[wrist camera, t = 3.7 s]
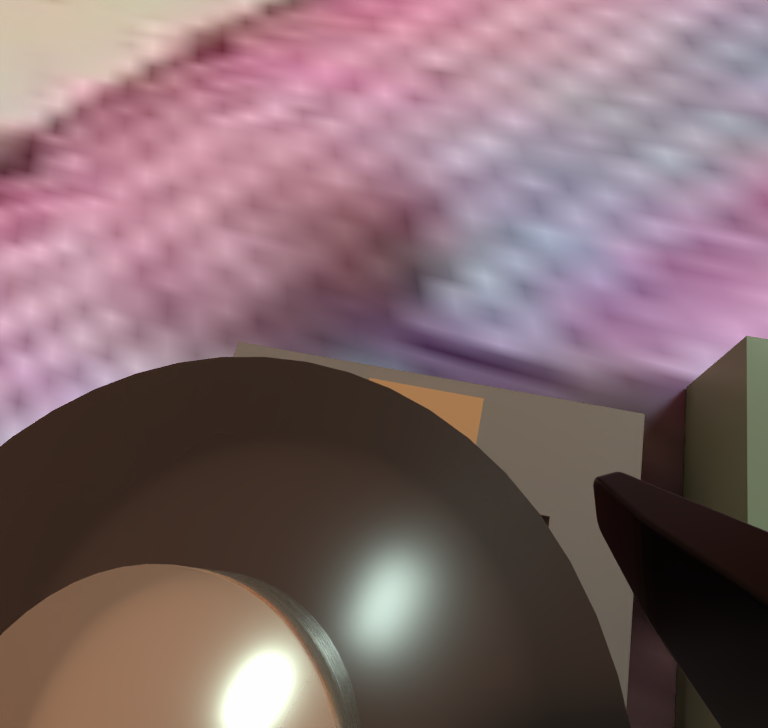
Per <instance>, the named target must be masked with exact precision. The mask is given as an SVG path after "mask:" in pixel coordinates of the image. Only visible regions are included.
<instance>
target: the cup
mask: <svg viewBox="0 0 768 728" xmlns="http://www.w3.org/2000/svg"><path fill="white" fill-rule="evenodd" d="M683 497H684V498H687V499H689V500H692V501H694V502H696V503H699V504H701V505H704V506H706V507H709V508H711V509H714V510H716V511H719V512H721V513H723V514H726V515H728V516H731V517H733V518H736V519H738V520H741V521H743V522H746V523H748V524H751V525H753V526H755V527H758V528H760V529H763V530H765V531H768V339H763V338H756V337H750V336H746V337H745V338H744V339H743V340H741V341H740V342H739V343H738V344H737V345H736V346H734V347H733V348H732V349H731V350H730V351H729V352H727V353H726V354H725V355H724V356H723V357H721V358H720V359H719V360H718V361H717V362H716V363H714V364H713V365H712V366H711V367H710V368H709V369H707V370H706V371H705V372H704V373H703V374H701V375H700V376H699V377H698V378H697V379H696V380H694V381H693V382H692V383H691V384H690V385H689V386H687V389H686V418H685V446H684V475H683ZM675 728H721V727H720V725H719V724H718V723H717V721H716V720H715V718H714V717H713V715H712V714H711V712H710V711H709V709H708V708H707V706H706V705H705V703H704V702H703V701H702V699H701V698H700V696H699V695H698V693H697V692H696V690H695V689H694V687H693V686H692V684H691V683H690V681H689V680H688V679H687V677H686V676H685V674H684V673H683V671H682V670H681V668H680V667H679V665H678V664H677V674H676V703H675Z"/></svg>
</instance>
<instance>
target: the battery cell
mask: <svg viewBox="0 0 768 728" xmlns="http://www.w3.org/2000/svg"><path fill="white" fill-rule="evenodd" d="M0 728H630V724H629V720H628V715H627V711H626V707H625V702H624V698H623V694H622V690H621V685H620V681H619V677H618V674H617V671H616V668H615V665H614V662H613V660H612V657H611V654H610V651H609V648H608V646H607V643H606V640H605V637H604V634H603V632H602V629H601V626H600V623H599V620H598V617H597V615H596V613H595V611H594V609H593V607H592V605H591V603H590V601H589V599H588V596H587V594H586V592H585V590H584V588H583V586H582V584H581V582H580V580H579V578H578V576H577V574H576V572H575V570H574V568H573V566H572V564H571V562H570V560H569V559H568V557H567V555H566V554H565V552H564V551H563V549H562V548H561V546H560V545H559V543H558V541H557V540H556V538H555V537H554V535H553V534H552V532H551V531H550V529H549V528H548V526H547V524H546V523H545V521H544V520H543V518H542V517H541V515H540V514H539V512H538V511H537V510H536V509H535V508H534V506H533V505H532V504H531V503H530V502H529V500H528V499H527V498H526V497H525V496H524V494H523V493H522V492H521V491H520V489H519V488H518V487H517V486H516V485H515V483H514V482H513V481H512V480H511V479H510V477H509V476H508V475H507V474H506V473H505V472H504V471H503V470H502V469H501V468H500V467H499V466H498V465H497V464H496V463H495V462H494V461H493V460H492V459H490V458H489V457H488V456H487V455H486V454H485V453H484V452H483V451H482V450H481V449H480V448H479V447H478V446H477V445H476V444H474V443H473V442H472V441H471V440H470V439H469V438H468V437H466V436H465V435H464V434H462V433H461V432H460V431H458V430H457V429H455V428H454V427H453V426H451V425H450V424H449V423H447V422H446V421H444V420H443V419H442V418H440V417H439V416H438V415H436V414H435V413H433V412H432V411H431V410H429V409H427V408H425V407H424V406H422V405H420V404H418V403H416V402H414V401H413V400H411V399H409V398H407V397H405V396H403V395H402V394H400V393H398V392H396V391H394V390H392V389H391V388H388V387H386V386H383V385H381V384H378V383H375V382H373V381H370V380H368V379H365V378H363V377H360V376H357V375H355V374H352V373H350V372H346V371H342V370H338V369H334V368H330V367H326V366H322V365H318V364H314V363H310V362H305V361H296V360H287V359H279V358H270V357H220V358H212V359H205V360H197V361H189V362H182V363H176V364H172V365H169V366H165V367H161V368H157V369H153V370H149V371H145V372H141V373H137V374H134V375H132V376H129V377H126V378H124V379H121V380H118V381H116V382H113V383H110V384H108V385H105V386H103V387H100V388H97V389H95V390H93V391H91V392H89V393H87V394H85V395H83V396H81V397H79V398H77V399H75V400H73V401H71V402H69V403H67V404H65V405H63V406H61V407H59V408H57V409H55V410H53V411H52V412H50V413H49V414H47V415H46V416H44V417H42V418H41V419H39V420H38V421H36V422H35V423H33V424H32V425H30V426H29V427H27V428H25V429H24V430H22V431H21V432H19V433H18V434H16V435H15V436H13V437H12V438H11V439H9V440H8V441H7V442H6V443H4V444H3V445H2V446H1V447H0Z"/></svg>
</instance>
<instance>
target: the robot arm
mask: <svg viewBox="0 0 768 728" xmlns="http://www.w3.org/2000/svg"><path fill="white" fill-rule="evenodd" d="M593 490H594V499H595V508H596V517H597V522H598V526H599V529H600V531H601V533H602V535H603V537H604V539H605V541H606V543H607V545H608V547H609V549H610V550H611V552H612V554H613V556H614V558H615V560H616V562H617V564H618V565H619V567H620V569H621V571H622V573H623V575H624V577H625V579H626V580H627V582H628V584H629V586H630V588H631V590H632V592H633V594H634V595H635V597H636V599H637V601H638V603H639V605H640V607H641V608H642V610H643V612H644V614H645V615H646V617H647V619H648V621H649V622H650V624H651V625H652V627H653V628H654V630H655V631H656V633H657V634H658V636H659V637H660V639H661V640H662V642H663V643H664V645H665V646H666V648H667V649H668V651H669V652H670V654H671V655H672V657H673V658H674V659H675V661H676V662H677V664H678V665H679V667H680V668H681V670H682V671H683V673H684V674H685V676H686V677H687V679H688V680H689V681H690V683H691V684H692V686H693V687H694V689H695V690H696V692H697V693H698V695H699V696H700V698H701V699H702V701H703V702H704V703H705V705H706V706H707V708H708V709H709V711H710V712H711V714H712V715H713V717H714V718H715V720H716V721H717V723H718V724H719V725H720V727H721V728H768V531H765V530H763V529H760V528H758V527H755V526H753V525H751V524H748V523H746V522H743V521H741V520H738V519H736V518H733V517H731V516H728V515H726V514H723V513H721V512H719V511H716V510H714V509H711V508H709V507H706V506H704V505H701V504H699V503H696V502H694V501H692V500H689V499H687V498H684V497H682V496H679V495H677V494H674V493H672V492H669V491H667V490H665V489H662V488H660V487H657V486H655V485H652V484H650V483H647V482H645V481H642V480H640V479H638V478H635V477H633V476H630V475H628V474H625V473H622V472H613V473H609V474H605V475H602V476H598V477H596V478H595V479H594V483H593Z"/></svg>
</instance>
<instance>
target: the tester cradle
mask: <svg viewBox="0 0 768 728" xmlns="http://www.w3.org/2000/svg"><path fill="white" fill-rule="evenodd" d="M234 357H270V358H279V359H287V360H296V361H305V362H310V363H314V364H318V365H322V366H326V367H330V368H334V369H338V370H342V371H346V372H350V373H352V374H355V375H357V376H360V377H363V378H365V379H368V380H370V381H373V382H375V383H378V384H381V385H383V386H386V387H388V388H391V389H392V390H394V391H396V392H398V393H400V394H402V395H403V396H405V397H407V398H409V399H411V400H413V401H414V402H416V403H418V404H420V405H422V406H424V407H425V408H427V409H429V410H431V411H432V412H433V413H435V414H436V415H438V416H439V417H440V418H442V419H443V420H444V421H446V422H447V423H449V424H450V425H451V426H453V427H454V428H455V429H457V430H458V431H460V432H461V433H462V434H464V435H465V436H466V437H468V438H469V439H470V440H471V441H472V442H473V443H474V444H476V445H477V446H478V447H479V448H480V449H481V450H482V451H483V452H484V453H485V454H486V455H487V456H488V457H489V458H490V459H492V460H493V461H494V462H495V463H496V464H497V465H498V466H499V467H500V468H501V469H502V470H503V471H504V472H505V473H506V474H507V475H508V476H509V477H510V479H511V480H512V481H513V482H514V483H515V485H516V486H517V487H518V488H519V489H520V491H521V492H522V493H523V494H524V496H525V497H526V498H527V499H528V500H529V502H530V503H531V504H532V505H533V506H534V508H535V509H536V510H537V511H538V512H539V514H540V515H541V517H542V518H543V520H544V521H545V523H546V524H547V526H548V528H549V529H550V531H551V532H552V534H553V535H554V537H555V538H556V540H557V541H558V543H559V545H560V546H561V548H562V549H563V551H564V552H565V554H566V555H567V557H568V559H569V560H570V562H571V564H572V566H573V568H574V570H575V572H576V574H577V576H578V578H579V580H580V582H581V584H582V586H583V588H584V590H585V592H586V594H587V596H588V599H589V601H590V603H591V605H592V607H593V609H594V611H595V613H596V615H597V617H598V620H599V623H600V626H601V629H602V632H603V634H604V637H605V640H606V643H607V646H608V648H609V651H610V654H611V657H612V660H613V662H614V665H615V668H616V671H617V674H618V677H619V681H620V685H621V690H622V694H623V698H624V702H625V707H626V708H627V691H628V675H629V659H630V643H631V627H632V611H633V595H634V594H633V592H632V590H631V588H630V586H629V584H628V582H627V580H626V579H625V577H624V575H623V573H622V571H621V569H620V567H619V565H618V564H617V562H616V560H615V558H614V556H613V554H612V552H611V550H610V549H609V547H608V545H607V543H606V541H605V539H604V537H603V535H602V533H601V531H600V529H599V526H598V522H597V517H596V508H595V499H594V490H593V483H594V479H595V478H596V477H598V476H602V475H605V474H609V473H613V472H622V473H625V474H628V475H630V476H633V477H635V478H638V479H640V480H641V466H642V450H643V434H644V417H645V414H642V413H636V412H630V411H625V410H619V409H614V408H608V407H602V406H597V405H591V404H585V403H580V402H574V401H569V400H563V399H557V398H552V397H546V396H540V395H535V394H529V393H524V392H518V391H512V390H507V389H501V388H495V387H490V386H484V385H478V384H473V383H467V382H462V381H456V380H450V379H445V378H439V377H433V376H428V375H422V374H417V373H411V372H405V371H400V370H394V369H388V368H383V367H377V366H372V365H366V364H360V363H355V362H349V361H343V360H338V359H332V358H327V357H321V356H315V355H310V354H304V353H298V352H293V351H287V350H281V349H276V348H270V347H265V346H259V345H253V344H248V343H242V342H238V345H237V348H236V351H235V354H234Z"/></svg>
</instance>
